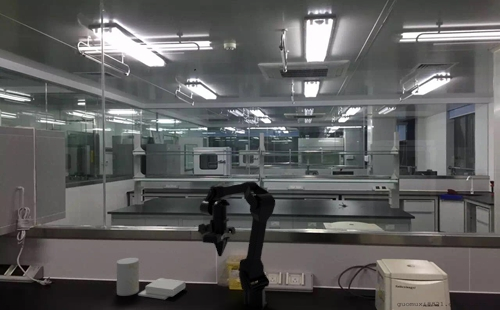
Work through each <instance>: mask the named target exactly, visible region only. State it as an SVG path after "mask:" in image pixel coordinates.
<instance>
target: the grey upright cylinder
mask: <svg viewBox="0 0 500 310" xmlns="http://www.w3.org/2000/svg"><path fill="white" fill-rule="evenodd" d="M139 261H140V260H139V258H137V257H126V258H121V259H118V260H116V295H118V296H123V297H125V296H132V295H135V294H138V293H139V292H140V262H139Z"/></svg>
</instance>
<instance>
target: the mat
mask: <svg viewBox="0 0 500 310" xmlns="http://www.w3.org/2000/svg"><path fill="white" fill-rule="evenodd" d="M137 295H138V297H139V296H140V297H146V298H153V299H158V300H159V299H160V300H166V299H168V298H170V296H165V295H158V294H151V293H146V289H144V290H142V291H140V292H138V293H137Z"/></svg>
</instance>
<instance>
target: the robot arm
mask: <svg viewBox="0 0 500 310" xmlns="http://www.w3.org/2000/svg"><path fill="white" fill-rule="evenodd" d="M240 194H244V197H245V201H246V203H247V204H248V205H249V212H250V214H251V217H252V222H251V226H250V227H251V229H250V234H249V241H248V246H247V247H248V248H247V254H246V257H245V258H242V259H240V261H239V267H238V270H237V271H238V277H239V278H238V279H239V283H240V286H241V290H243V291H244V292H243V304H244V306H243V308H244V309H248V310H264V308H265V306H266V305H267V303H268V302H267V301H266V288H267V287H270V286H269V285H270V280H269V278H268V276H267V275H266V273H265V271H264V270H265V269H264V267H265V266H264V263H263V260H262V255H263V254H262V253H263V248H264V241H265V236H266V231H267V224H268V220H269V219H270V217H272V215H273V214H274V211H275V207H276V199H275V198H274V196H273V194H271V193H270V192H269V191H268V190H266V189H265V188H263V187H262V186H260V185H259V184H258V183H257V182H255V181H254V180H252V181H251V180H250V181H244V182H240V183H235V184H230V185H229V184H217V185H211V186H210V189H209V191H208V192H207V195H206V197H204V198H203V201H202V202H201V203H200V205H199V210H200V213H202V214H203V215H209V216H212V218H211V219H210V220H209V223H207V224H205V223H201V224H198V225H197V226H198V227H197V232H198V233H199V234H200V235H201V236H202V235H203V236H202V238H201V239H202V243H203V244H206V243H207V244H214V246H215V249H216V253H217V256H218V257H222V256H223V254H224V251H225V250H226V247H227V244H228V242H229V240H230V238H231V237H230V236H227V234H231V235H235V234H236V228H235V227H234V226H228V222H229V221H230V220H229V218H228V211H227V209H228V208H227V207H229V206H231V203H230V202H229V201H227V199H229V198H231V197H232V196H235V195H240ZM229 231H231V233H229Z"/></svg>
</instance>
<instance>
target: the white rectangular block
mask: <svg viewBox="0 0 500 310" xmlns="http://www.w3.org/2000/svg"><path fill="white" fill-rule="evenodd" d="M185 288H186V280H177V279H170V278H163V277H160V278H159V277H158V279H156V280H154V281H152V282H150V283H149V284H147V285H145V290H146V293H151V294H158V295H165V296H169V297H174V296H175V295H177V294H178V293H180V292H181V291H182V290H184V289H185Z"/></svg>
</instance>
